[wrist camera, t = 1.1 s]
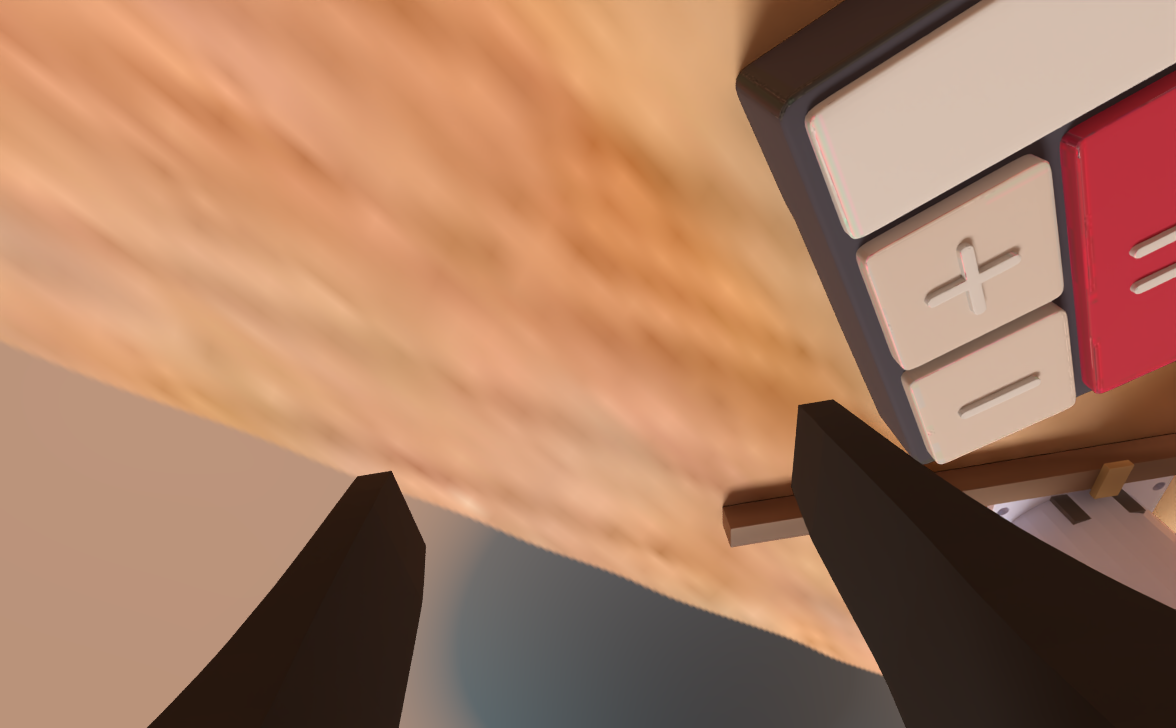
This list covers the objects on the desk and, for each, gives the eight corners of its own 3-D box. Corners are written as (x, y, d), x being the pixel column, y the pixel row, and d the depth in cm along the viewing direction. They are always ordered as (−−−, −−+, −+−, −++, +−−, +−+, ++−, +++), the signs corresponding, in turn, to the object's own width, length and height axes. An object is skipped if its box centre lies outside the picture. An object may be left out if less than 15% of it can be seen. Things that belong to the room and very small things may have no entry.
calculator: (930, 486, 21) (786, 117, 13) (870, 406, 24) (726, 75, 16) (1278, 333, 18) (1390, -265, 10) (1156, 268, 22) (1163, -217, 13)
